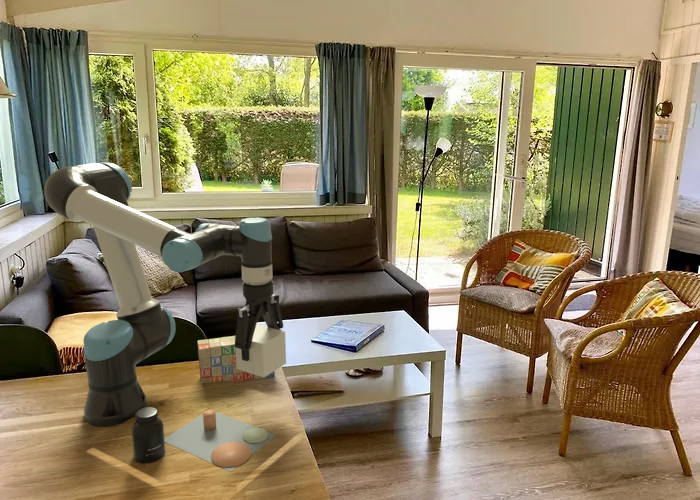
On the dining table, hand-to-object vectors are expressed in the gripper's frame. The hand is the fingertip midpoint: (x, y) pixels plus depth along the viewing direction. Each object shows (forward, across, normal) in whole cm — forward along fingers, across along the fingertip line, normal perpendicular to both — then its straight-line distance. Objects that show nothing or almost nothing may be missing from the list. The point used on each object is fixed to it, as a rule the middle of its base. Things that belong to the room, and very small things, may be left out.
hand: (261, 363), depth 142 cm
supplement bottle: (+14, -29, +9) cm, 34 cm away
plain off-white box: (+1, 0, 0) cm, 1 cm away
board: (+14, -16, 0) cm, 21 cm away
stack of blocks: (+14, +11, +19) cm, 26 cm away
